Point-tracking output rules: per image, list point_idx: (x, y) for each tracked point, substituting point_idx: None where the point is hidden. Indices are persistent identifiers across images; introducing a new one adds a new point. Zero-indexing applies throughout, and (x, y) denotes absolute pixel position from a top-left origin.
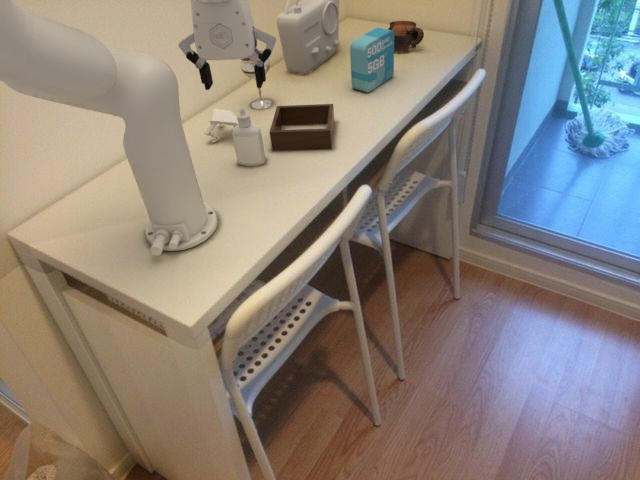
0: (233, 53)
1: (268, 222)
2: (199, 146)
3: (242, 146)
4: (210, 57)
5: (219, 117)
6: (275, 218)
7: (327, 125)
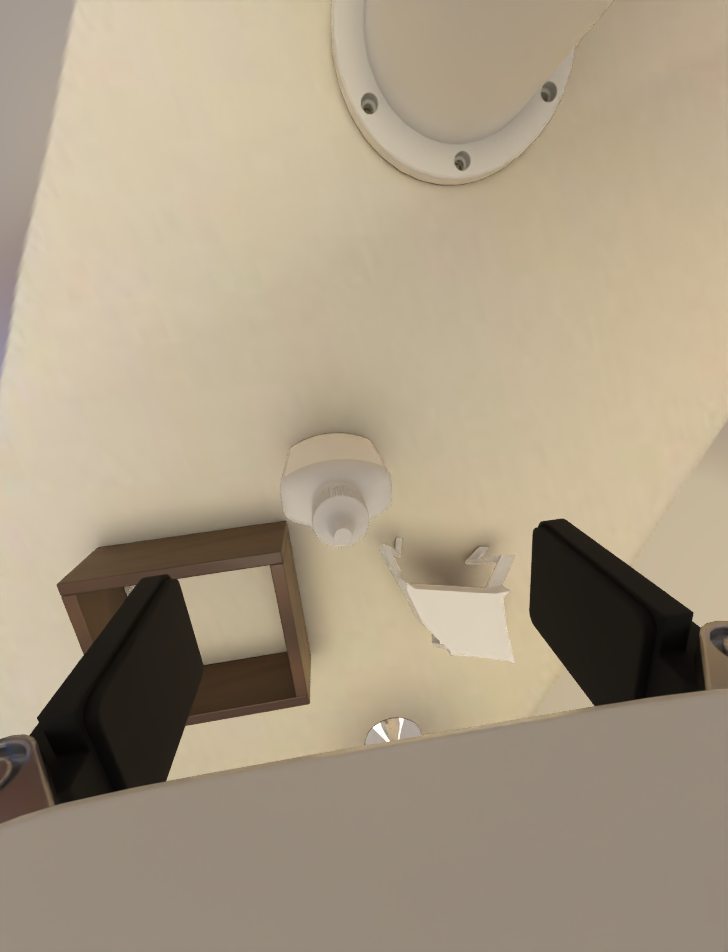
0: (219, 892)
1: (156, 96)
2: (516, 524)
3: (347, 448)
4: (701, 725)
5: (481, 614)
6: (140, 124)
7: (79, 612)
